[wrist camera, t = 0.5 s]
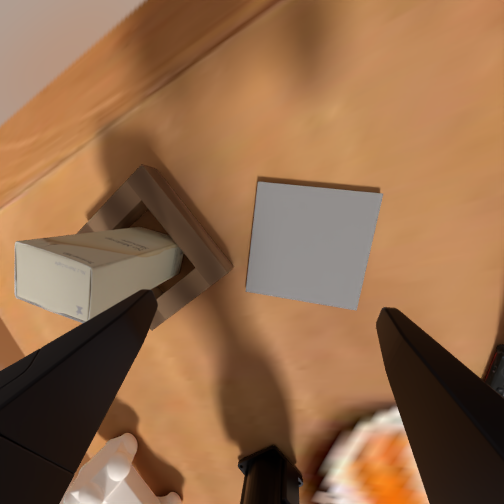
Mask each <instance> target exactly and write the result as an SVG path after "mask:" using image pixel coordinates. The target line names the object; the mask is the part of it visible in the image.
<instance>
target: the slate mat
mask: <svg viewBox="0 0 504 504" xmlns="http://www.w3.org/2000/svg"><path fill="white" fill-rule="evenodd" d="M382 197H383V194H381V193H371V192H361V191H350V190H340V189H330V188H319V187H309V186H299V185H288V184H278V183H267V182H258V186H257V195H256V204H255V213H254V222H253V231H252V239H251V248H250V257H249V266H248V275H247V284H246V292H252V293H257V294H263V295H269V296H275V297H281V298H287V299H293V300H298V301H304V302H310V303H316V304H322V305H328V306H334V307H339V308H345V309H351V310H357V306H358V302H359V297H360V293H361V288H362V284H363V280H364V275H365V271H366V267H367V262H368V258H369V254H370V249H371V245H372V241H373V236H374V232H375V227H376V223H377V219H378V214H379V210H380V206H381V201H382Z"/></svg>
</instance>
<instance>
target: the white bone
mask: <svg viewBox="0 0 504 504" xmlns="http://www.w3.org/2000/svg"><path fill="white" fill-rule="evenodd" d="M137 448H138V445H137V440H136V438H135V437H134V436H133V435H132V434H130V433H124V434H123V435H122V436H119V437H117V438H114V439H110V440H109V441H107V443H106V445H105V446H104V447H103V448H102V449H101V450H100V451H99V452H98V453H97V454H96V455H95V456H94V457H93V458H92V459H91V460H90V461H89V462H87V463H86V464H85V465H83V466H82V468H81V469H80V471H79V475H78V476H77V478H76V480H75V481H74V483H73V484H72V486H71V487H70V488H69V489H68V491H67V492H66V494H65V497H64V504H182V501H181V499H180V497H179V495H178V494H177V493H175V492H170V493H169V494H168V495H167V496H163V497H159V496H157V497H156V496H155V494H154V493H153V492H152V490H151V489H150V488H149V486H148V485H147V484H146V483H145V481H144V480H143V479H142V477H141V476H140V475H139V473H138V472H137V471H136V469H135V468H134V467H133V465H132V464H131V463H132V461H133V458H134V456H135V454H136V452H137Z"/></svg>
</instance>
